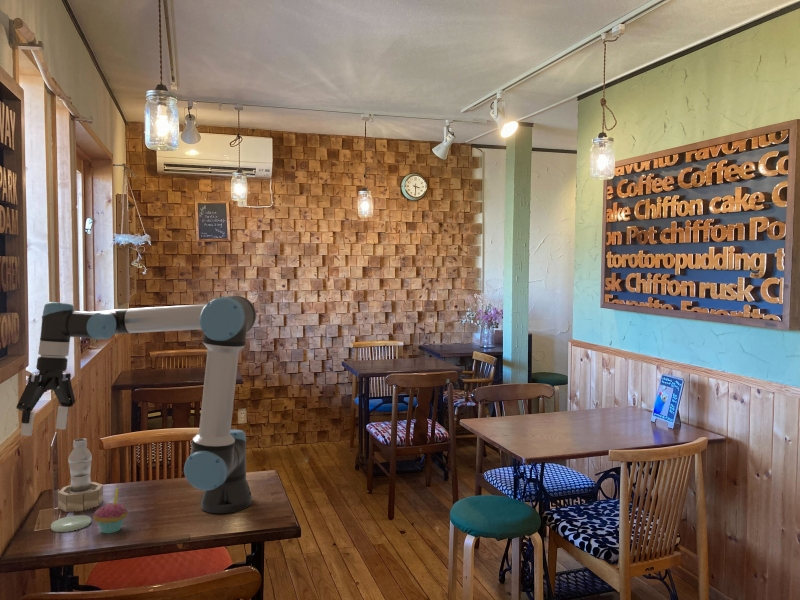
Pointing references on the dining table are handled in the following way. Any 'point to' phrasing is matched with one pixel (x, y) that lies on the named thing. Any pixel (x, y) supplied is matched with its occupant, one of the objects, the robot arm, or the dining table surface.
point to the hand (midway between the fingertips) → (44, 432)
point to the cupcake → (111, 516)
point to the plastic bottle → (80, 467)
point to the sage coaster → (70, 523)
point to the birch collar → (80, 498)
